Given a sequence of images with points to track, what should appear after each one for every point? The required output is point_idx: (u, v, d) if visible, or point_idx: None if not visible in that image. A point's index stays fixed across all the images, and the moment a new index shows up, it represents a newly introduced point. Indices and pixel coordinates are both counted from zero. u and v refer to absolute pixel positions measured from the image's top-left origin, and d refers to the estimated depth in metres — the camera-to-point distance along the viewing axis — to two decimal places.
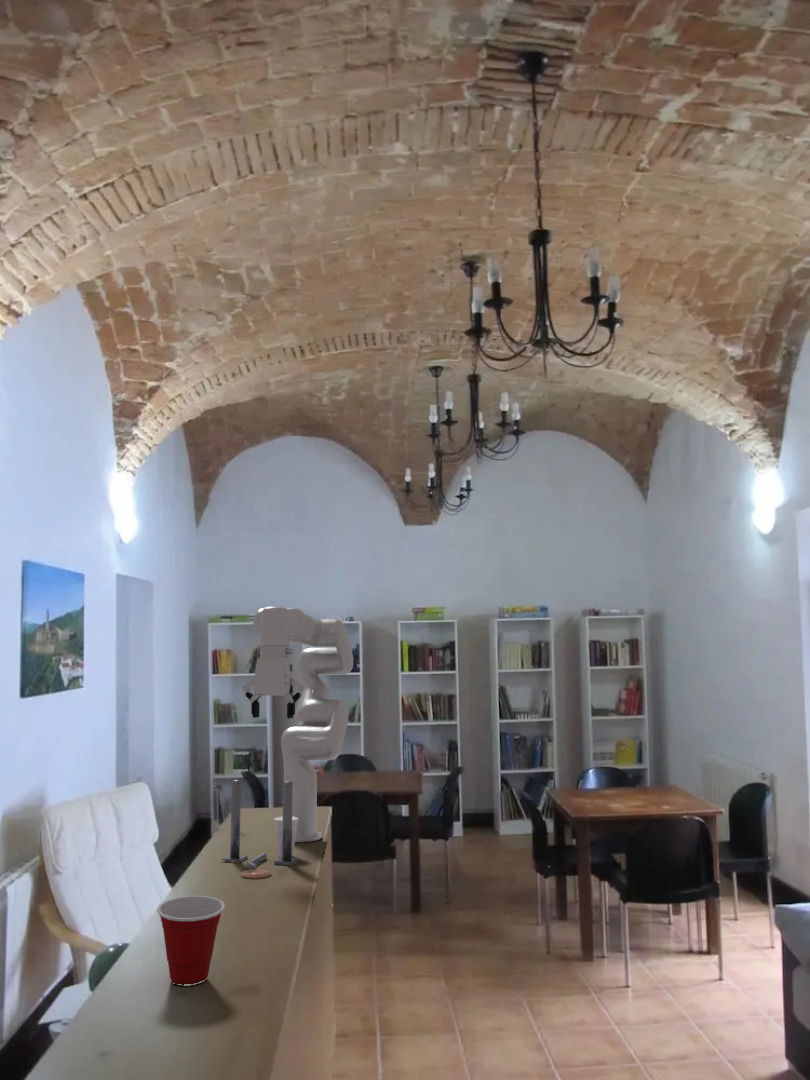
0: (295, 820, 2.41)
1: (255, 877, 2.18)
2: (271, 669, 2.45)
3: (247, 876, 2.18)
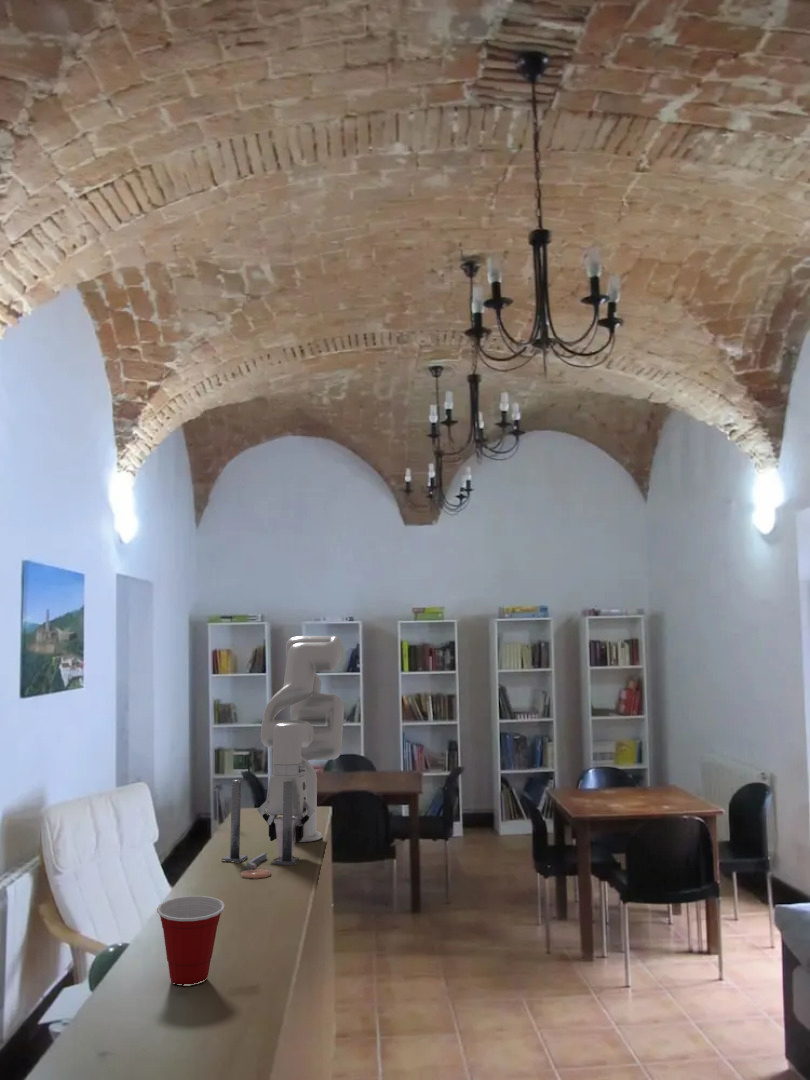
0: (295, 820, 2.41)
1: (255, 877, 2.18)
2: None
3: (247, 876, 2.18)
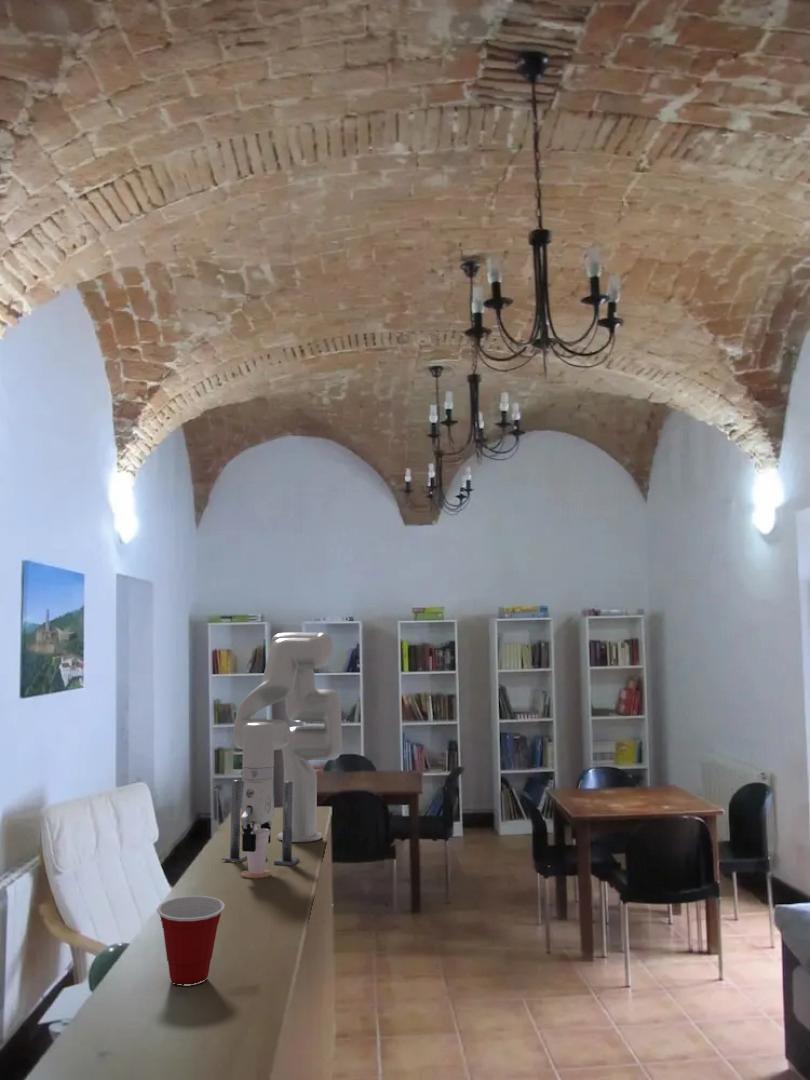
0: None
1: (255, 877, 2.18)
2: None
3: (247, 876, 2.18)
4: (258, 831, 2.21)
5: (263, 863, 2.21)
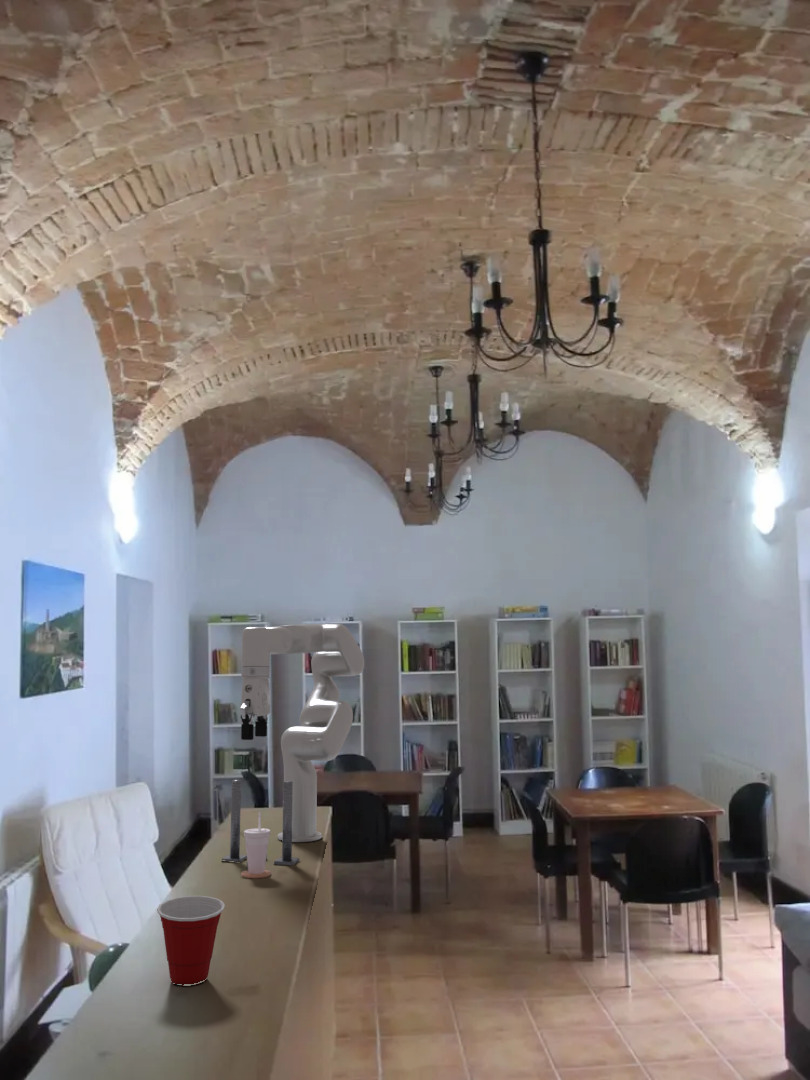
0: (248, 833, 2.20)
1: (255, 877, 2.18)
2: None
3: (247, 876, 2.18)
4: (258, 831, 2.21)
5: (263, 863, 2.21)
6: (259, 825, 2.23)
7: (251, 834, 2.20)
